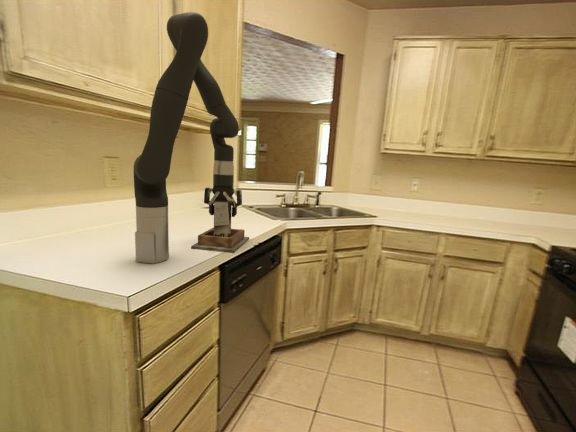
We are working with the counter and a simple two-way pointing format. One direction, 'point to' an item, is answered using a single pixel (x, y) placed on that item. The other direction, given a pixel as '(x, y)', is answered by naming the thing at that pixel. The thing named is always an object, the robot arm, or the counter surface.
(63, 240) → the counter surface
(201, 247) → the socket
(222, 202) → the coffee box
